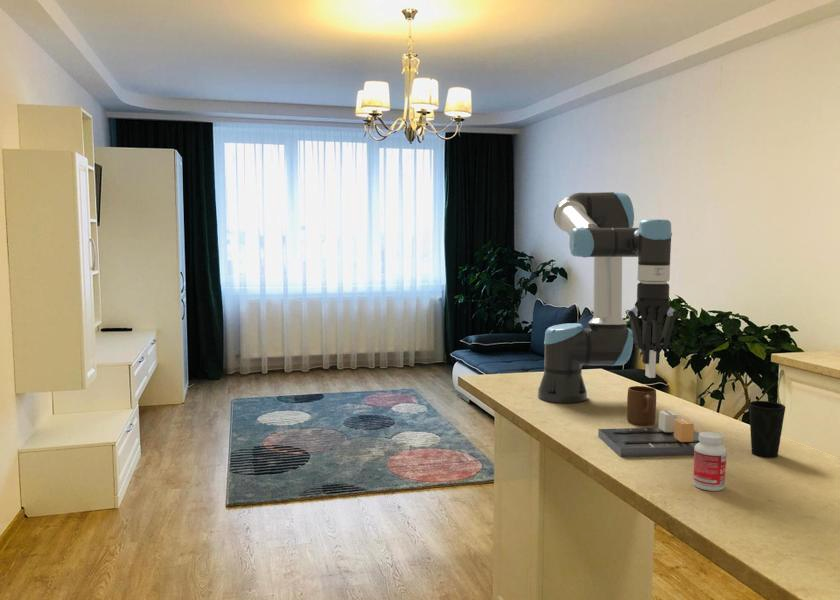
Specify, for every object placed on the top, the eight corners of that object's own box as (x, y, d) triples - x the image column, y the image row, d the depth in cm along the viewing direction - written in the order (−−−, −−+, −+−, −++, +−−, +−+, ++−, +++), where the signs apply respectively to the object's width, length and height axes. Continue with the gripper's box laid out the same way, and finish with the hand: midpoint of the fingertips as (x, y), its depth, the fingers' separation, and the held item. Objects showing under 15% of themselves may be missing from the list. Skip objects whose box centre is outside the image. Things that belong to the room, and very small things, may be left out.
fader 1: (658, 427, 177) (659, 410, 176) (669, 427, 177) (670, 410, 176) (665, 432, 173) (665, 414, 172) (676, 432, 173) (677, 414, 172)
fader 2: (673, 437, 169) (674, 419, 168) (685, 436, 169) (686, 418, 168) (681, 442, 165) (681, 423, 164) (693, 441, 165) (693, 423, 165)
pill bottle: (725, 493, 140) (727, 440, 138) (692, 489, 142) (695, 437, 141) (724, 483, 145) (726, 432, 144) (692, 479, 148) (694, 429, 146)
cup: (739, 451, 166) (741, 402, 165) (762, 447, 169) (764, 399, 168) (766, 461, 159) (769, 410, 158) (790, 456, 162) (793, 407, 161)
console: (598, 436, 178) (598, 427, 178) (688, 434, 180) (688, 426, 179) (620, 456, 162) (620, 447, 162) (719, 454, 164) (719, 445, 163)
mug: (664, 430, 183) (666, 396, 182) (636, 430, 183) (637, 396, 182) (650, 418, 195) (651, 385, 194) (623, 418, 195) (624, 385, 194)
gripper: (632, 283, 166) (629, 380, 168) (685, 283, 166) (682, 379, 169) (622, 281, 173) (619, 373, 175) (672, 281, 174) (669, 373, 176)
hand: (650, 376), depth 172 cm, fingers closed
